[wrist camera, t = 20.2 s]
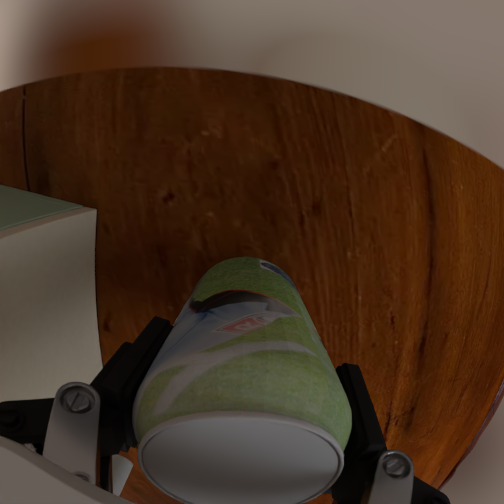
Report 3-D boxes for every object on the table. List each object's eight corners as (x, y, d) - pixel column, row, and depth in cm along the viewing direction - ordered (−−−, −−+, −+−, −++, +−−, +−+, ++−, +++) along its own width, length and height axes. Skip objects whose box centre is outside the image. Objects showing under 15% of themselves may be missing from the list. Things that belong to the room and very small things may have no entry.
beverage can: (180, 288, 17) (52, 432, 5) (278, 215, 15) (238, 355, 3) (243, 360, 17) (194, 528, 6) (341, 303, 16) (395, 496, 4)
